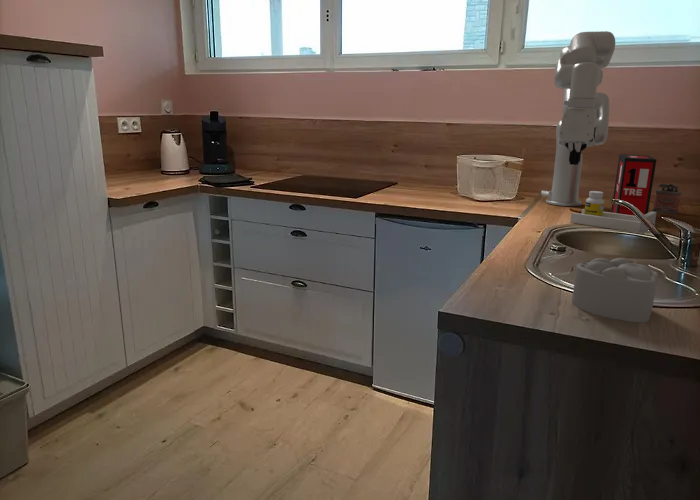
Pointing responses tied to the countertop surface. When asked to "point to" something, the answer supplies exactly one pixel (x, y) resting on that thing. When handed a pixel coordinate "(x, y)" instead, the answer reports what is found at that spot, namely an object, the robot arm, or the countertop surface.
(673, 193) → the lighter
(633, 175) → the cleaning product box
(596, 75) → the robot arm
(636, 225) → the u rest
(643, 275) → the lumpy-topped squat cylinder
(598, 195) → the supplement bottle
